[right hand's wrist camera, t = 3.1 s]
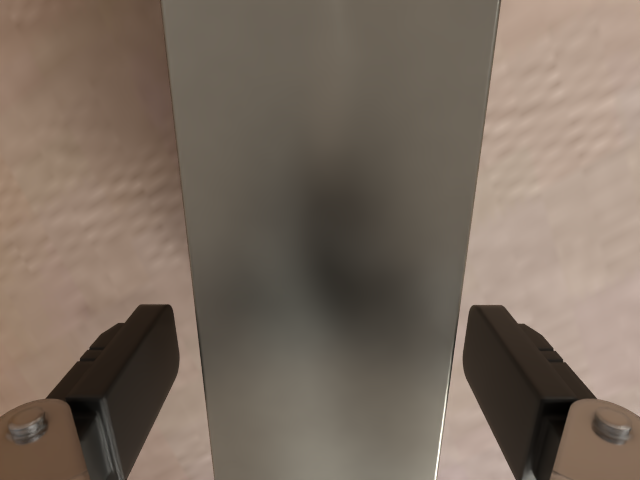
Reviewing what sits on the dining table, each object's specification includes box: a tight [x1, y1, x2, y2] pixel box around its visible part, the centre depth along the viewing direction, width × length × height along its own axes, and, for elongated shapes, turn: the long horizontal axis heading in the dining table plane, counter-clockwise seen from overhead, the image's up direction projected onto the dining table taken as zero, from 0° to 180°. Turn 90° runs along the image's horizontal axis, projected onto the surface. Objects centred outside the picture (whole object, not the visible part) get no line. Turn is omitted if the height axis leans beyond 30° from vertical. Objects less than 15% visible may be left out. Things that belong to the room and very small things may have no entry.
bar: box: [160, 0, 501, 480], centre depth 10 cm, size 24×5×9 cm, turn 0°
